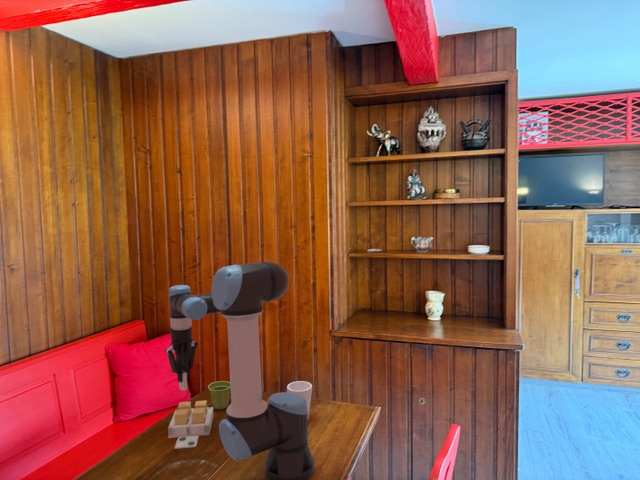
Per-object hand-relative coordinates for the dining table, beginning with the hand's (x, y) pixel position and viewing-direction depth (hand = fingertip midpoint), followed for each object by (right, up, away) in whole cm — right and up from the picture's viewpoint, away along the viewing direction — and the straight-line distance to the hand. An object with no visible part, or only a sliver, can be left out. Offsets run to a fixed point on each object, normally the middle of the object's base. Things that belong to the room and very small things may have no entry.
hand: (183, 389), depth 162 cm
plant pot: (+11, -12, +14) cm, 22 cm away
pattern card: (+5, -14, -13) cm, 20 cm away
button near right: (+7, -10, -5) cm, 13 cm away
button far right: (+6, -10, +1) cm, 12 cm away
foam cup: (+44, -13, +2) cm, 45 cm away
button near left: (+1, -10, -5) cm, 12 cm away
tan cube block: (0, -10, +1) cm, 10 cm away
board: (+4, -13, -2) cm, 14 cm away
